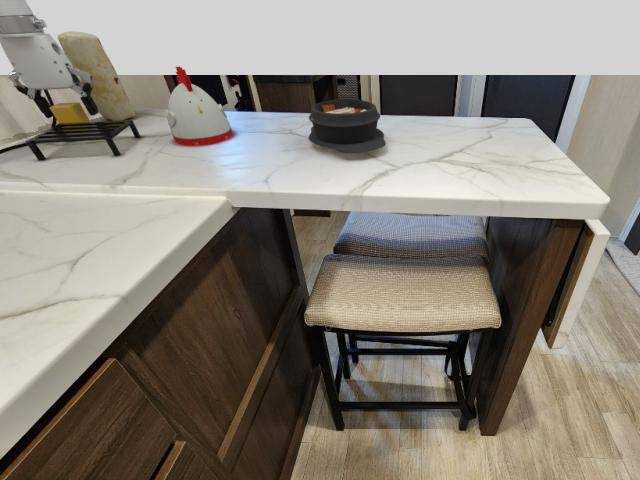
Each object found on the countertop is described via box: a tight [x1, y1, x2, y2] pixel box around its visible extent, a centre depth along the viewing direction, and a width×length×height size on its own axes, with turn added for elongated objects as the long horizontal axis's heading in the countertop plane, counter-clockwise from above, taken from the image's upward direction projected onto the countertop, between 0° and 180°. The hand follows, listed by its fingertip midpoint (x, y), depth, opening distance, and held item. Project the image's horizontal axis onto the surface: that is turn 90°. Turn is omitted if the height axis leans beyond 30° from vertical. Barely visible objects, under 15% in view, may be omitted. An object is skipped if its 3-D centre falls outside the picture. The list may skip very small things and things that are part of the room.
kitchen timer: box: [164, 65, 234, 147], centre depth 80 cm, size 14×14×15 cm
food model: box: [56, 30, 136, 121], centre depth 90 cm, size 10×7×20 cm
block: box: [49, 101, 91, 124], centre depth 83 cm, size 4×4×7 cm
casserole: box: [308, 98, 387, 154], centre depth 80 cm, size 25×19×8 cm
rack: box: [25, 119, 142, 162], centre depth 77 cm, size 16×14×4 cm
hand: (73, 115), depth 82 cm, fingers open, 9 cm apart
